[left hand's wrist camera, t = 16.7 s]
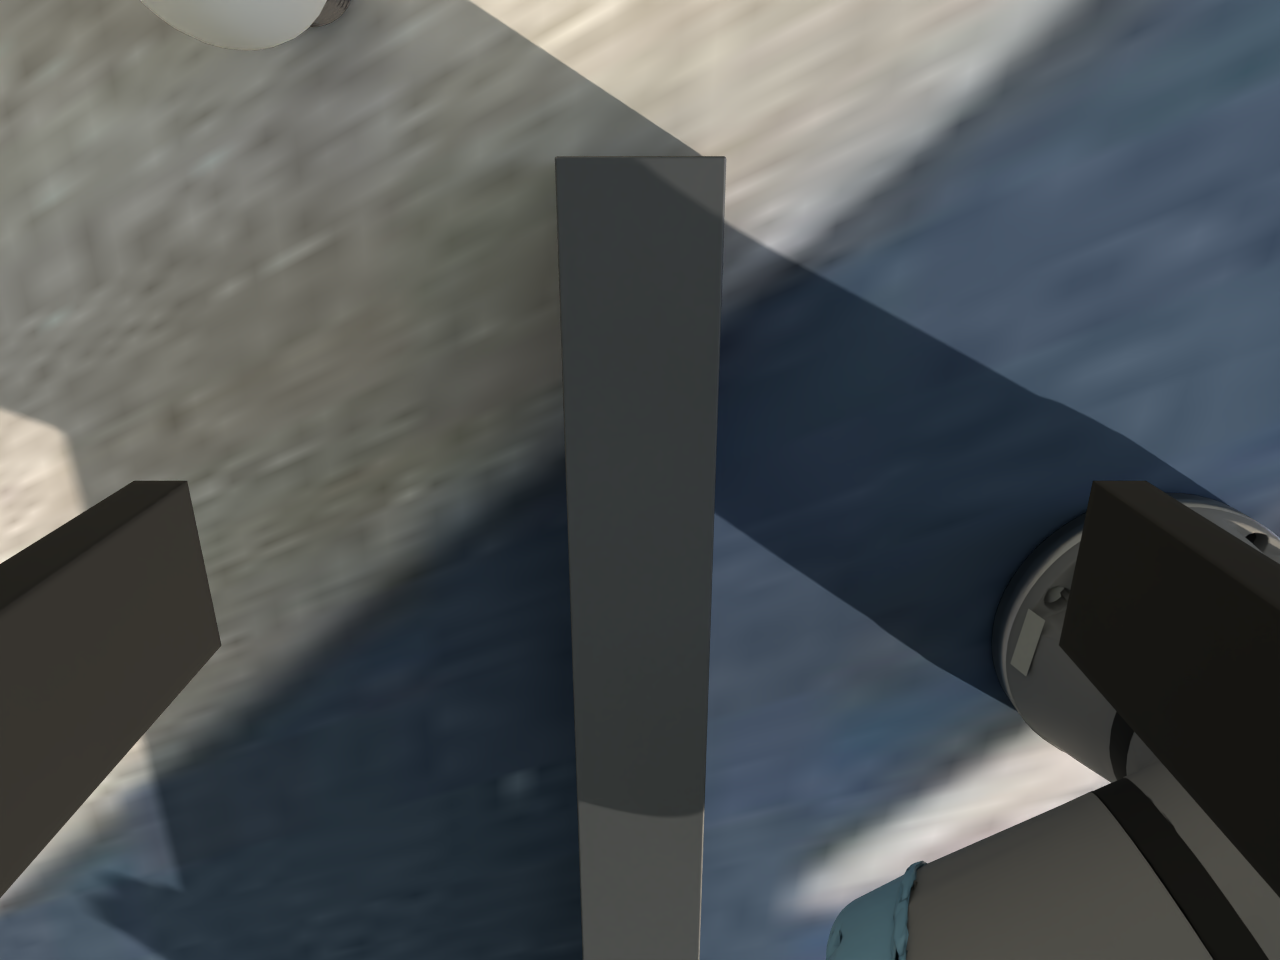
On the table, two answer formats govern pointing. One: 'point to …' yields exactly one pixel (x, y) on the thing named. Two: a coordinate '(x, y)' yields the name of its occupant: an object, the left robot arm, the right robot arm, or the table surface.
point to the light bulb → (246, 19)
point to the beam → (640, 532)
